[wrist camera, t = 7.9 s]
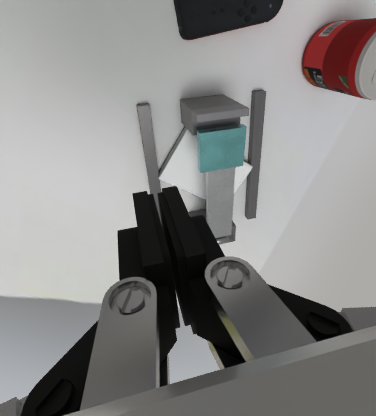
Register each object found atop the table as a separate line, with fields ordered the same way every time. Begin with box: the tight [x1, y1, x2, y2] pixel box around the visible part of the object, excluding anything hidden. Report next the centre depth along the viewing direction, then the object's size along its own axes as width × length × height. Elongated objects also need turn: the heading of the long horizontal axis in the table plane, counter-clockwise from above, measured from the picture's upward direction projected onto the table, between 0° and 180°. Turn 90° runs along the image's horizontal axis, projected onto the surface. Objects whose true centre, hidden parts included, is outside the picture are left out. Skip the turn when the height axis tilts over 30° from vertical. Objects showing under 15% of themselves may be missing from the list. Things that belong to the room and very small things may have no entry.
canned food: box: [302, 18, 376, 100], centre depth 34 cm, size 8×8×11 cm
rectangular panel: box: [197, 124, 246, 244], centre depth 37 cm, size 18×6×1 cm, turn 4°
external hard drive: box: [158, 127, 252, 200], centre depth 42 cm, size 2×8×12 cm
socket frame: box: [137, 90, 266, 241], centre depth 39 cm, size 21×18×9 cm
